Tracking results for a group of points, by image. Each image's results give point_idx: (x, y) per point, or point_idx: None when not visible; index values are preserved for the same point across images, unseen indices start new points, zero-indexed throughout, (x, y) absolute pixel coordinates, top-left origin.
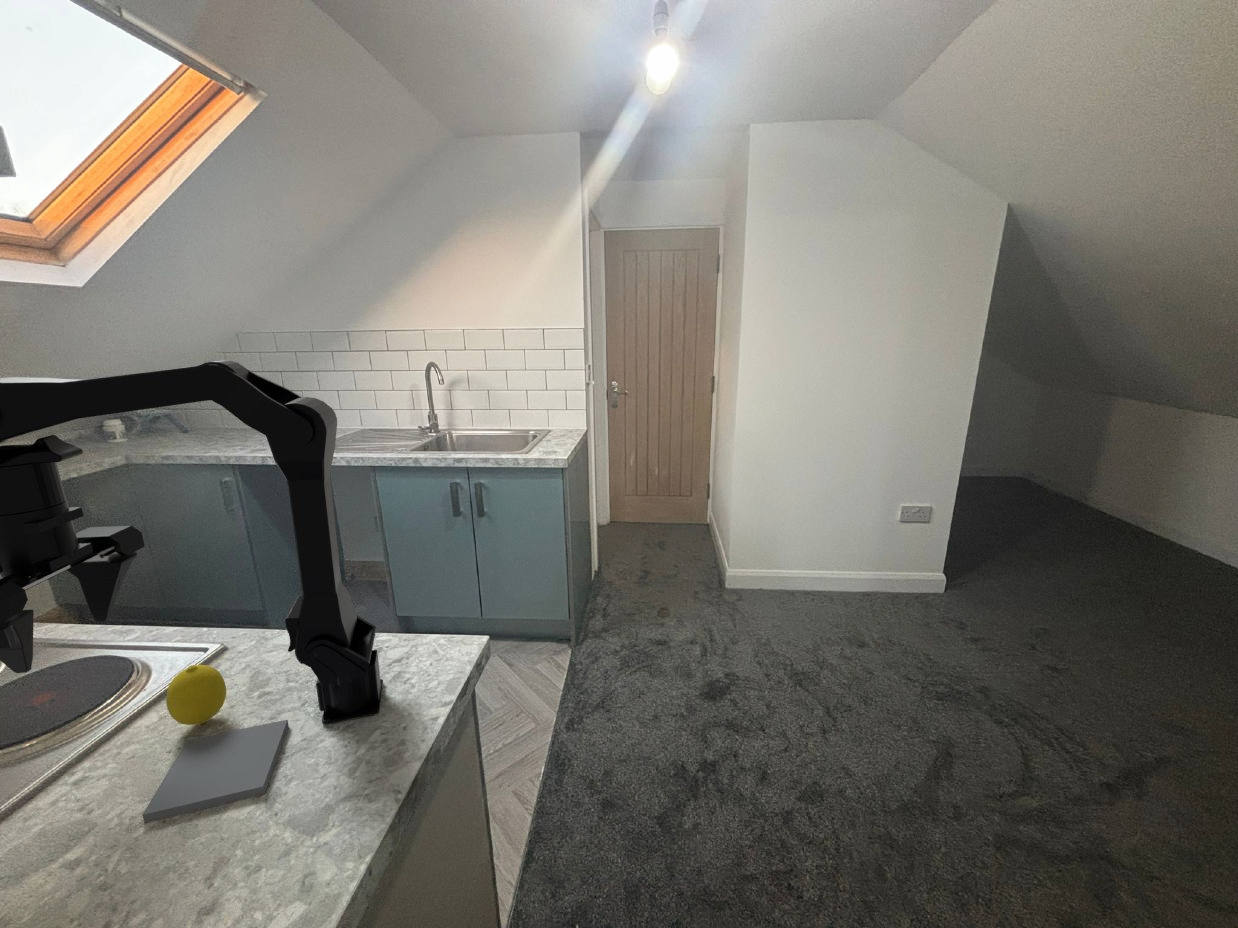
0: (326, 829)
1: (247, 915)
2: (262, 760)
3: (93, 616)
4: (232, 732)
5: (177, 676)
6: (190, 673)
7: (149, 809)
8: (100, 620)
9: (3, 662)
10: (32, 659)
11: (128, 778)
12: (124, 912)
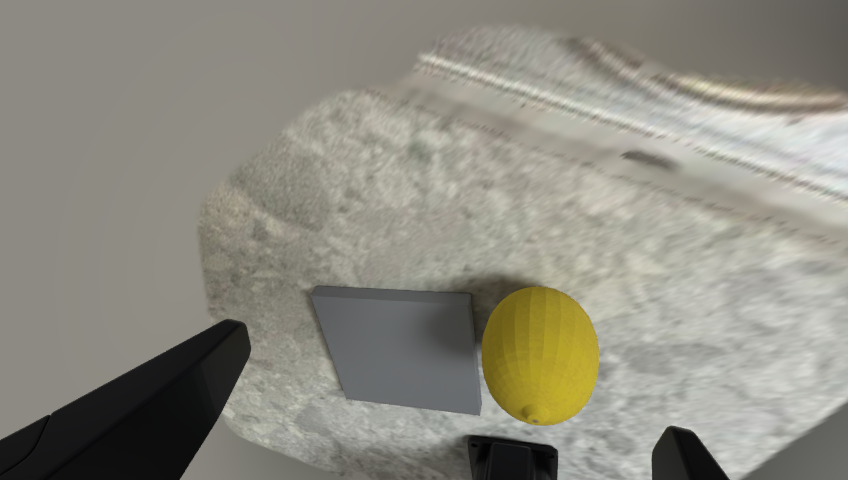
0: (301, 430)
1: None
2: (392, 395)
3: (681, 454)
4: (468, 358)
5: (525, 384)
6: (518, 411)
7: (318, 301)
8: (661, 445)
9: (160, 357)
10: (225, 403)
11: (409, 232)
12: (212, 305)
